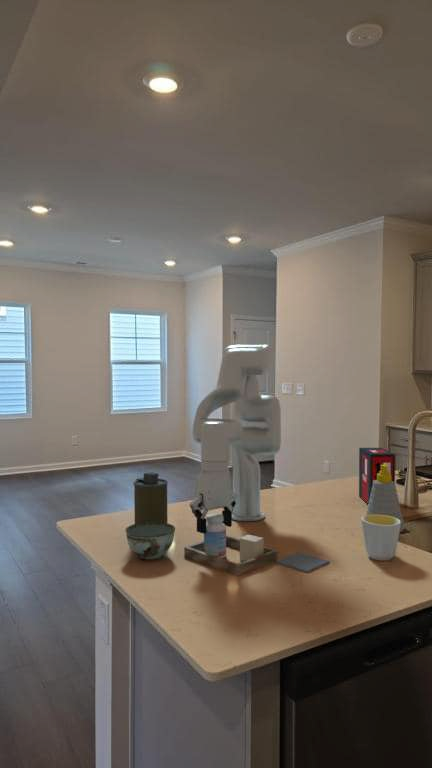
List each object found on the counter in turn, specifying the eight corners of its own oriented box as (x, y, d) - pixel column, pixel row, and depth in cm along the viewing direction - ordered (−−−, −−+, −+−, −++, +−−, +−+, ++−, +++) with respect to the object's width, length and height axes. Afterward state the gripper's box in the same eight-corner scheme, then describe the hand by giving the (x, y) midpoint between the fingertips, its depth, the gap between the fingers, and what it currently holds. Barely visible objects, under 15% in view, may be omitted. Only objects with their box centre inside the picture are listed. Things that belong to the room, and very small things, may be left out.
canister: (175, 538, 162) (175, 472, 162) (148, 546, 154) (148, 478, 154) (152, 530, 170) (151, 468, 169) (125, 538, 162) (125, 473, 161)
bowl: (154, 570, 136) (154, 539, 136) (115, 560, 144) (114, 530, 143) (185, 554, 148) (185, 525, 148) (147, 545, 155) (147, 518, 155)
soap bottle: (404, 524, 176) (404, 463, 175) (404, 535, 164) (404, 469, 164) (365, 520, 180) (365, 461, 179) (362, 531, 168) (363, 467, 168)
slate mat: (276, 562, 141) (276, 560, 141) (298, 553, 148) (298, 551, 148) (307, 572, 134) (307, 570, 134) (329, 562, 141) (329, 560, 141)
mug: (398, 566, 138) (398, 526, 138) (358, 560, 143) (358, 522, 142) (403, 550, 151) (403, 513, 151) (366, 545, 155) (366, 509, 155)
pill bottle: (224, 560, 143) (223, 519, 142) (201, 559, 144) (201, 518, 144) (228, 553, 149) (227, 513, 148) (206, 551, 150) (206, 512, 150)
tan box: (239, 560, 143) (239, 538, 143) (247, 556, 147) (247, 534, 146) (255, 564, 140) (255, 541, 140) (263, 559, 144) (263, 537, 143)
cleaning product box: (359, 497, 213) (359, 447, 212) (381, 497, 213) (381, 447, 212) (370, 508, 196) (370, 454, 196) (394, 508, 196) (395, 454, 196)
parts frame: (184, 556, 146) (184, 547, 146) (224, 542, 158) (224, 534, 158) (237, 576, 132) (237, 566, 132) (277, 559, 143) (277, 550, 143)
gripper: (226, 461, 154) (226, 520, 154) (181, 468, 142) (181, 532, 142) (246, 464, 149) (245, 525, 149) (200, 472, 137) (200, 538, 137)
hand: (214, 529), depth 146 cm, fingers open, 9 cm apart
